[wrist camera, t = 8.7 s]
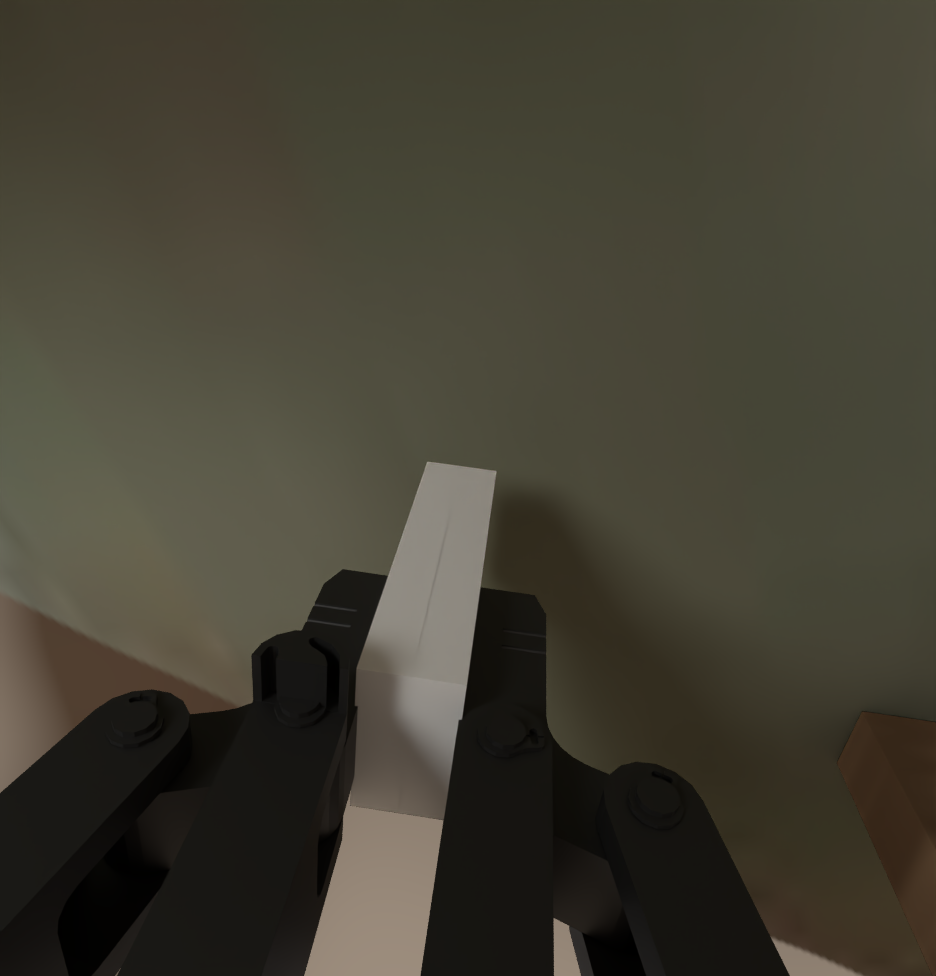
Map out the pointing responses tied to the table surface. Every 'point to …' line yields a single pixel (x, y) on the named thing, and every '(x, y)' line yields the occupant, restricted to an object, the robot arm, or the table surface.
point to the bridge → (899, 810)
